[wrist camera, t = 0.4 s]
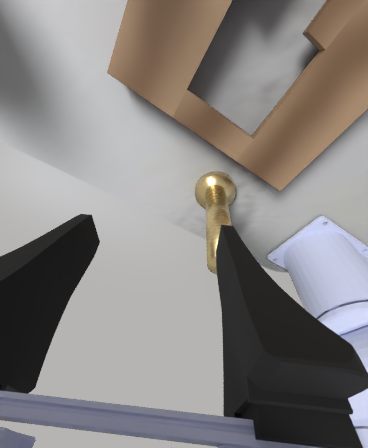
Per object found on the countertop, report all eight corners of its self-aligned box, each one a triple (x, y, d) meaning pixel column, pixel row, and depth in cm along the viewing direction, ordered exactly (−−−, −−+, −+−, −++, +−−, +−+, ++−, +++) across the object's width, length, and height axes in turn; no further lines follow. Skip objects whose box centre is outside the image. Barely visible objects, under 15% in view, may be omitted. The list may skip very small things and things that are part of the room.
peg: (243, 185, 20) (270, 260, 12) (218, 212, 22) (227, 291, 14) (210, 164, 19) (216, 231, 11) (188, 194, 21) (180, 269, 13)
